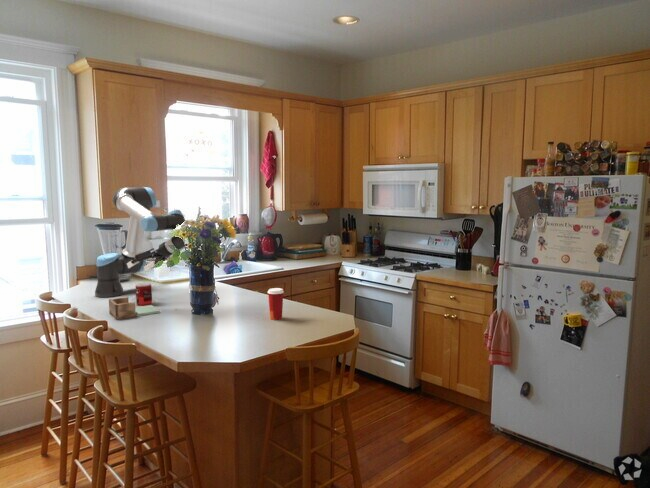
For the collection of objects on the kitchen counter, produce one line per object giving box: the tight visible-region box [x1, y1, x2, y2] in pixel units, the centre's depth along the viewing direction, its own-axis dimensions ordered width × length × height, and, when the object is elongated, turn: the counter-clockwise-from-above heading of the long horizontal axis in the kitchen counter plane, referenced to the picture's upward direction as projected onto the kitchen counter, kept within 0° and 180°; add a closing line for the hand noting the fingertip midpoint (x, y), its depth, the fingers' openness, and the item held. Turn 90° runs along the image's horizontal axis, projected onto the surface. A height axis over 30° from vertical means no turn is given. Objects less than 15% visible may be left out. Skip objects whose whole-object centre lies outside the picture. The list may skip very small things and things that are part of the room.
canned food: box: [135, 282, 153, 307], centre depth 263 cm, size 8×8×11 cm
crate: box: [108, 296, 161, 320], centre depth 245 cm, size 20×14×7 cm
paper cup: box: [267, 287, 285, 321], centre depth 235 cm, size 8×8×14 cm
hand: (136, 267), depth 257 cm, fingers open, 13 cm apart
